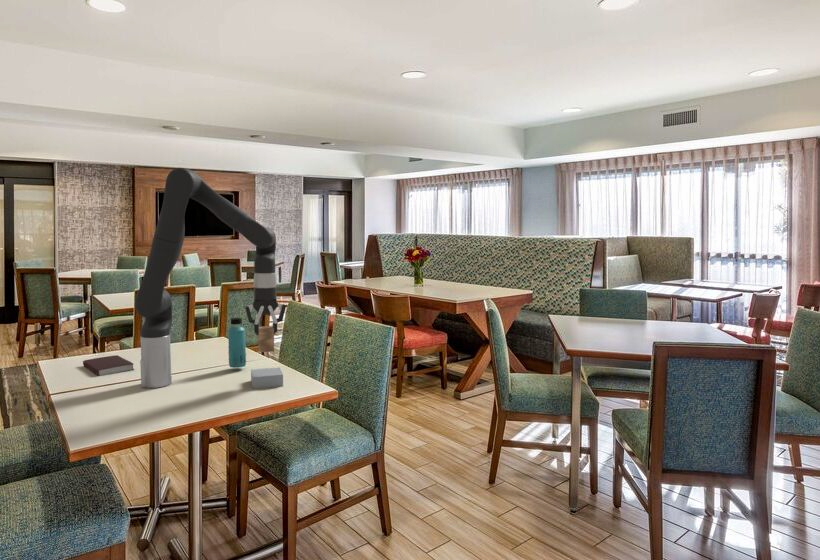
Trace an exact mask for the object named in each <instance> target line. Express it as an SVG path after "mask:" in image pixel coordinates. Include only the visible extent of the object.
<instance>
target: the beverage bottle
mask: <svg viewBox="0 0 820 560" xmlns="http://www.w3.org/2000/svg"><path fill="white" fill-rule="evenodd" d="M242 324H243V320H242V317H232V318H231V319H230V325H234V326H230V328H228V329H227V332H228V333H227V334H228V335H227V336H228V337H227V339H228V340H227V341H228V347H227V348H228V353H227V354H228V366H229V367H230V368H232V369H234V368H237V369H238V368H243V367H246V365H247V351H246V350H247V348H246V347H247V346H246V344H247V343H246V328H245V327H243V326H241V325H242Z"/></svg>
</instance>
